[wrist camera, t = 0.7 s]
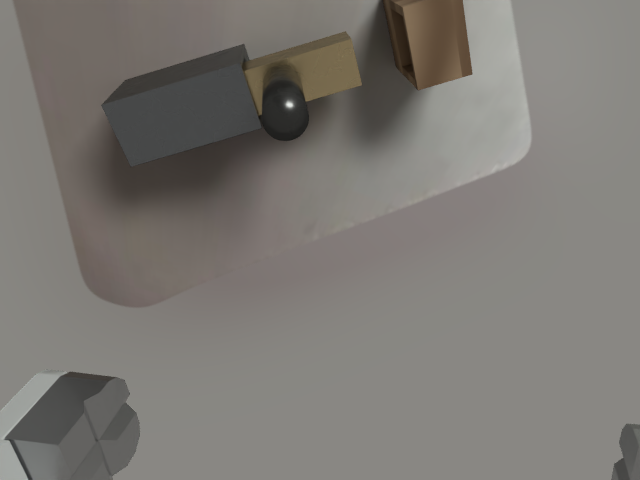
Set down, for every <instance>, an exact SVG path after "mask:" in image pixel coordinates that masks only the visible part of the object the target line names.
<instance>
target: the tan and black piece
mask: <svg viewBox="0 0 640 480" xmlns="http://www.w3.org/2000/svg"><path fill="white" fill-rule="evenodd" d="M242 69H243V72H244V75H245V78H246V81H247V84H248V87H249V90H250V93H251V96H252V99H253V102H254V105H255V107H256V110H257V113H258V116H259V115H262V124H263V127H264V129H265V130H266V132H267V133H268V134H269V135H270V136H272V137H273V138H275V139H277V140H282V141H289V140H293V139H295V138H297V137H299V136H300V135H301V134H302V133H303V132H304V131H305V129H306V128H307V125H308V121H309V115H308V110H307V105H306V102H307V101H310V100H313V99H317V98H320V97H324V96H327V95H330V94H334V93H337V92H340V91H344V90H347V89H351V88H354V87H357V86H361V85H362V82H361V78H360V74H359V70H358V65H357V61H356V57H355V53H354V48H353V44H352V40H351V38H350V37H349V35H348V34H347V33H346V31H345V32H342V33H339V34H335V35H332V36H329V37H325V38H322V39H319V40H316V41H312V42H309V43H306V44H302V45H299V46H296V47H292V48H289V49H286V50H283V51H279V52H276V53H273V54H269V55H266V56H263V57H259V58H256V59H253V60H249V61H246V62H243V64H242Z"/></svg>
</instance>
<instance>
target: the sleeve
mask: <svg viewBox="0 0 640 480" xmlns="http://www.w3.org/2000/svg"><path fill="white" fill-rule="evenodd" d="M246 61H249V57H248V54H247V51H246V48H245V45H244V44H242V45H239V46H236V47H232V48H229V49H226V50H223V51H219V52H216V53H213V54H210V55H206V56H203V57H200V58H196V59H193V60H190V61H187V62H183V63H180V64H177V65H173V66H170V67H167V68H164V69H160V70H157V71H154V72H150V73H147V74H144V75H141V76H137V77H134V78H131V79H128V80H125V81H124V82H123V83H122V84H121V85H120V86H119V87H118V88H117V89H116V90H115V91H114V92H113V93H112V94H111V95H110V97H109V98H108V99H107V100H106V101H105V102H104V103H103V104H102V105H101V106H102V108H103V110H104V112H105V114H106V116H107V118H108V120H109V122H110V124H111V126H112V129H113V131H114V133H115V135H116V137H117V139H118V141H119V143H120V145H121V147H122V150H123V152H124V154H125V156H126V158H127V160H128V162H129V164H130V166H131V167H132V166H135V165H139V164H142V163H145V162H149V161H152V160H156V159H159V158H162V157H166V156H169V155H173V154H176V153H179V152H183V151H186V150H189V149H193V148H196V147H200V146H203V145H206V144H210V143H213V142H217V141H220V140H223V139H227V138H230V137H234V136H237V135H240V134H244V133H247V132H251V131H254V130H257V129H261V128H262V115H259V116H258V113H257V110H256V107H255V105H254V102H253V99H252V96H251V93H250V90H249V87H248V84H247V81H246V78H245V75H244V72H243V69H242V64H243V62H246Z"/></svg>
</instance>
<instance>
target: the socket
mask: <svg viewBox="0 0 640 480" xmlns="http://www.w3.org/2000/svg"><path fill="white" fill-rule="evenodd" d="M383 4H384V9H385V14H386V19H387V24H388V29H389V34H390V39H391V44H392V49H393V54H394V59H395V64H396V67H397V68H398V70H399V71H400V72H401V73H402V74H403V75H404V76H405V77H406V78H407V79H408V80H409V81H410V82H411V83H412V84H413V85H414V86H415V87H416V89H417V90H421V89H424V88H428V87H431V86H434V85H438V84H441V83H445V82H448V81H451V80H455V79H458V78H462V77H465V76H468V75H472V67H471V60H470V52H469V45H468V37H467V30H466V22H465V15H464V7H463V0H383Z"/></svg>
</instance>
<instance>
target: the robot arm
mask: <svg viewBox="0 0 640 480" xmlns="http://www.w3.org/2000/svg"><path fill="white" fill-rule="evenodd" d="M129 395H130V393H129V390H128V388H127V385H126V383H125V380H123V379H120V378H117V377H110V376H101V375H93V374H85V373H76V372H64V371H55V370H44V371H42V372H39V373H37V374H36V375H35V376H34V377H33V378H32V379H31V380H30V381H29V382H28V383H27V384H26V385H25V386H24V387H23V388H22V389H21V391H19V392H18V393H17V394H16V395H15V396H14V397H13V398H12V400H10V402H9V403H8V404H7V405H6V406H5V407H4V408H3V409H2V410H1V411H0V480H113V479H112V476H113V475H114V474H116V473H117V472H119V471H120V470H122V469H123V468H125V467H126V466H127V465H128V463H129V462H130V460H131V458H132V457H133V455H134V453H135V451H136V447H137V444H138V440H139V436H140V428H139V420H138V417H137V414H136V412H135V411H134V410H133V409H132V408H131V407H130V406H129V405H127V403H126V400H127V398H128V397H129ZM619 444H620V447H621V451H622V454H623V457H624V458H622V459H621V460H619V461H618V462H617V463H615V464H614V468H613V474H612V479H611V480H640V425H637V424H626V425H625V427H624V428H623V429H622V432H621V437H620V441H619Z"/></svg>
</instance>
